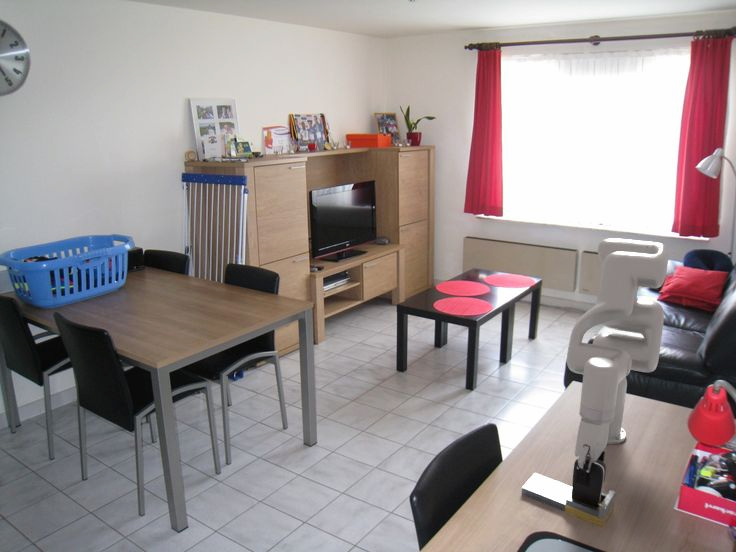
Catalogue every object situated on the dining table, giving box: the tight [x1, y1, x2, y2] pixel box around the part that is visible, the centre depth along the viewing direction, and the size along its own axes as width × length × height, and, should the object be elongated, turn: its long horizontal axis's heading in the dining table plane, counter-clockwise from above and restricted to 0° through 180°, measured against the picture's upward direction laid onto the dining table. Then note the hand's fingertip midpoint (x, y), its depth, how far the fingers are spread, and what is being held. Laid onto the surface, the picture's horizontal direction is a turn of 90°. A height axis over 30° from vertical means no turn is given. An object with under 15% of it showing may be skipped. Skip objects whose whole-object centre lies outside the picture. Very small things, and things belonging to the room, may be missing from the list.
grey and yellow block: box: [521, 472, 616, 528], centre depth 147 cm, size 8×20×5 cm, turn 52°
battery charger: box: [571, 455, 607, 508], centre depth 144 cm, size 7×4×11 cm, turn 53°
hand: (589, 473), depth 143 cm, fingers open, 9 cm apart
